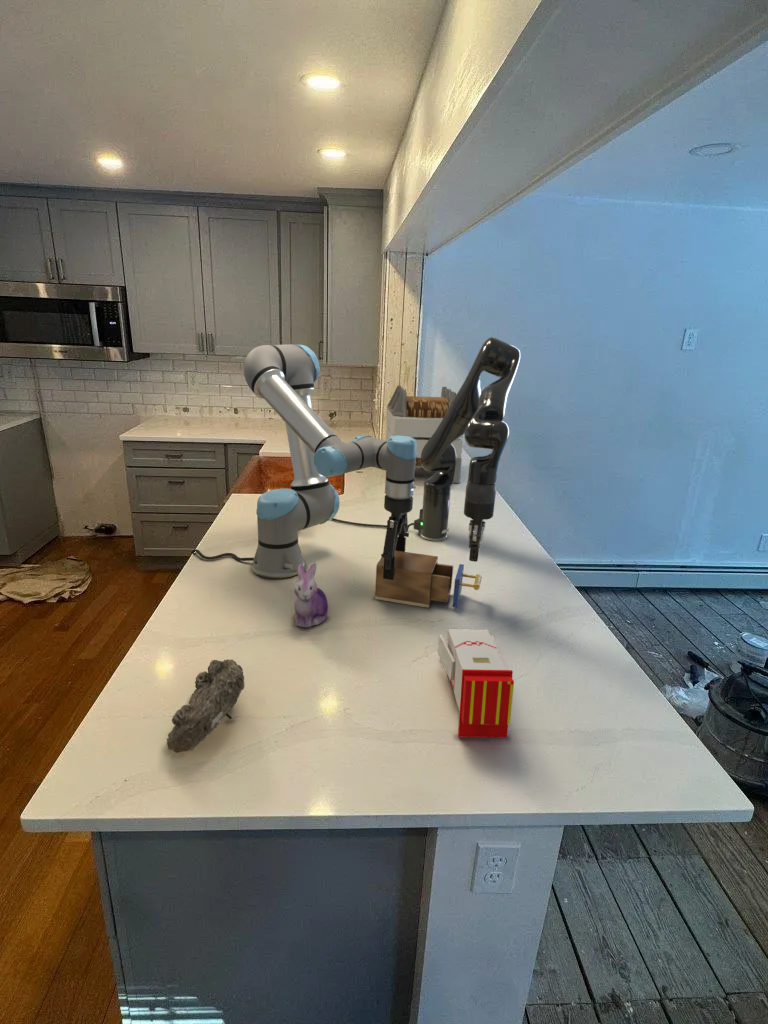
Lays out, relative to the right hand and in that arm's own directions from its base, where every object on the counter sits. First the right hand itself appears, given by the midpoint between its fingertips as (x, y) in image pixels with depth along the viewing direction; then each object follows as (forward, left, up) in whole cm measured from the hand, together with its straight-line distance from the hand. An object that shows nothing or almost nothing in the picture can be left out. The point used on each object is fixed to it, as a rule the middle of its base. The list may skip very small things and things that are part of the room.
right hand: (473, 560), depth 150 cm
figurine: (-27, -33, -13) cm, 45 cm away
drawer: (-6, -2, -12) cm, 14 cm away
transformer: (-79, +101, -13) cm, 129 cm away
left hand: (-20, -8, -6) cm, 22 cm away
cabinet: (-16, -6, -13) cm, 22 cm away
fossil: (-18, -72, -13) cm, 75 cm away
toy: (+18, -34, -13) cm, 40 cm away
